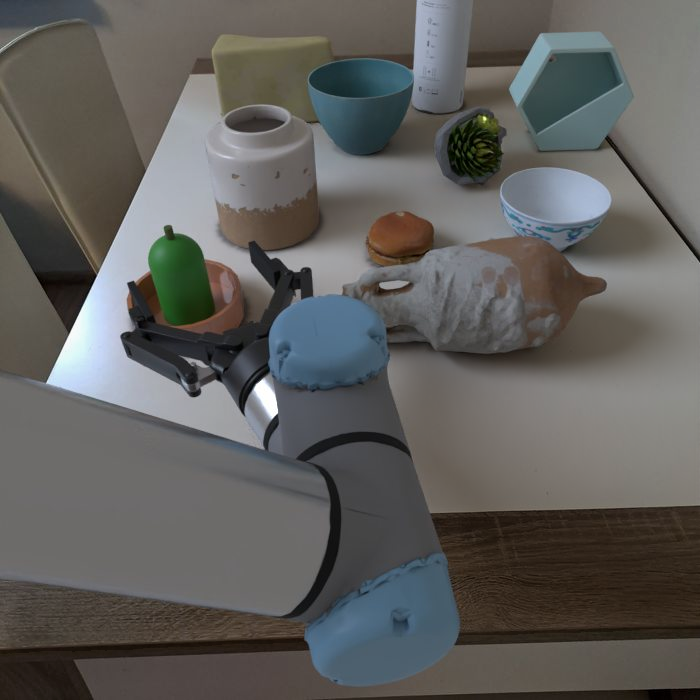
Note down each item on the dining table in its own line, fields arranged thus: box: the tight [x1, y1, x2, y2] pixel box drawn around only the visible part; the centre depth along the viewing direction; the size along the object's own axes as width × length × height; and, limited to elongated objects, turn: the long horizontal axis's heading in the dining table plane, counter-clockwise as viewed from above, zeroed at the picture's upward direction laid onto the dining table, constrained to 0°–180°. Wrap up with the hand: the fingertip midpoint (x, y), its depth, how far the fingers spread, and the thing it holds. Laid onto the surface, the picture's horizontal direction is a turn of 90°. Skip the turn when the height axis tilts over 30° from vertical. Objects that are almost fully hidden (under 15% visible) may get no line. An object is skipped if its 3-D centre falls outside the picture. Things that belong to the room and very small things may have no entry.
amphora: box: [341, 236, 608, 354], centre depth 76 cm, size 14×16×30 cm
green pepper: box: [147, 224, 215, 326], centre depth 80 cm, size 7×7×13 cm
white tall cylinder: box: [411, 0, 474, 115], centre depth 121 cm, size 11×10×26 cm
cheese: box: [211, 33, 335, 123], centre depth 122 cm, size 22×10×15 cm, turn 87°
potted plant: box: [433, 106, 508, 186], centre depth 104 cm, size 12×13×15 cm
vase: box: [204, 104, 320, 251], centre depth 94 cm, size 15×15×17 cm
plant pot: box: [308, 57, 414, 155], centre depth 114 cm, size 18×18×12 cm
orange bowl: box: [126, 258, 246, 335], centre depth 83 cm, size 14×14×4 cm
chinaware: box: [499, 166, 613, 253], centre depth 92 cm, size 15×15×8 cm
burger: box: [365, 210, 435, 267], centre depth 92 cm, size 10×9×5 cm
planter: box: [508, 30, 635, 152], centre depth 111 cm, size 17×8×21 cm
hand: (195, 270), depth 70 cm, fingers open, 13 cm apart
